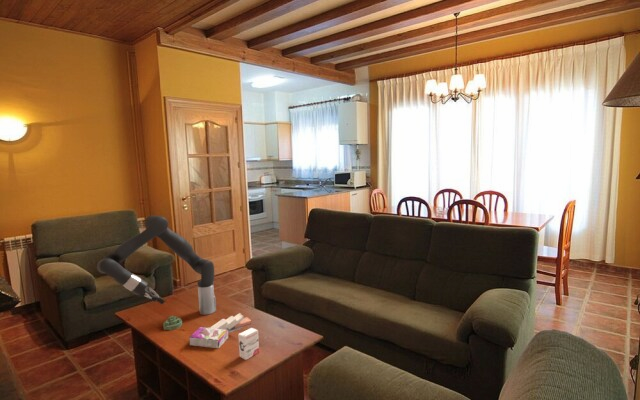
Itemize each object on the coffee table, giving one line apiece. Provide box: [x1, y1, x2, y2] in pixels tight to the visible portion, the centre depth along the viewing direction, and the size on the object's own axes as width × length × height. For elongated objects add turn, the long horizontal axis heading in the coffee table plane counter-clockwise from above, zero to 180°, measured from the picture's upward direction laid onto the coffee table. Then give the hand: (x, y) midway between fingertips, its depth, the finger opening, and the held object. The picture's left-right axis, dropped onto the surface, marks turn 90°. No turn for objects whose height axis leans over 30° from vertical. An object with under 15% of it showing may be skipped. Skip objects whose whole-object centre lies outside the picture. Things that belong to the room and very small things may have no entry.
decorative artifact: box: [162, 314, 183, 331], centre depth 208 cm, size 10×7×10 cm
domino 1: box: [209, 318, 228, 329], centre depth 200 cm, size 2×6×10 cm
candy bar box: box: [188, 326, 229, 349], centre depth 189 cm, size 11×5×16 cm
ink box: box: [237, 327, 260, 361], centre depth 176 cm, size 8×5×12 cm, turn 140°
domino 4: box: [234, 316, 252, 328], centre depth 208 cm, size 2×6×10 cm
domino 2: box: [222, 315, 237, 329], centre depth 202 cm, size 2×6×10 cm
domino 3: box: [228, 312, 246, 330], centre depth 205 cm, size 2×6×10 cm
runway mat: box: [226, 326, 243, 334], centre depth 201 cm, size 20×10×1 cm, turn 125°
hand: (163, 302), depth 191 cm, fingers closed
